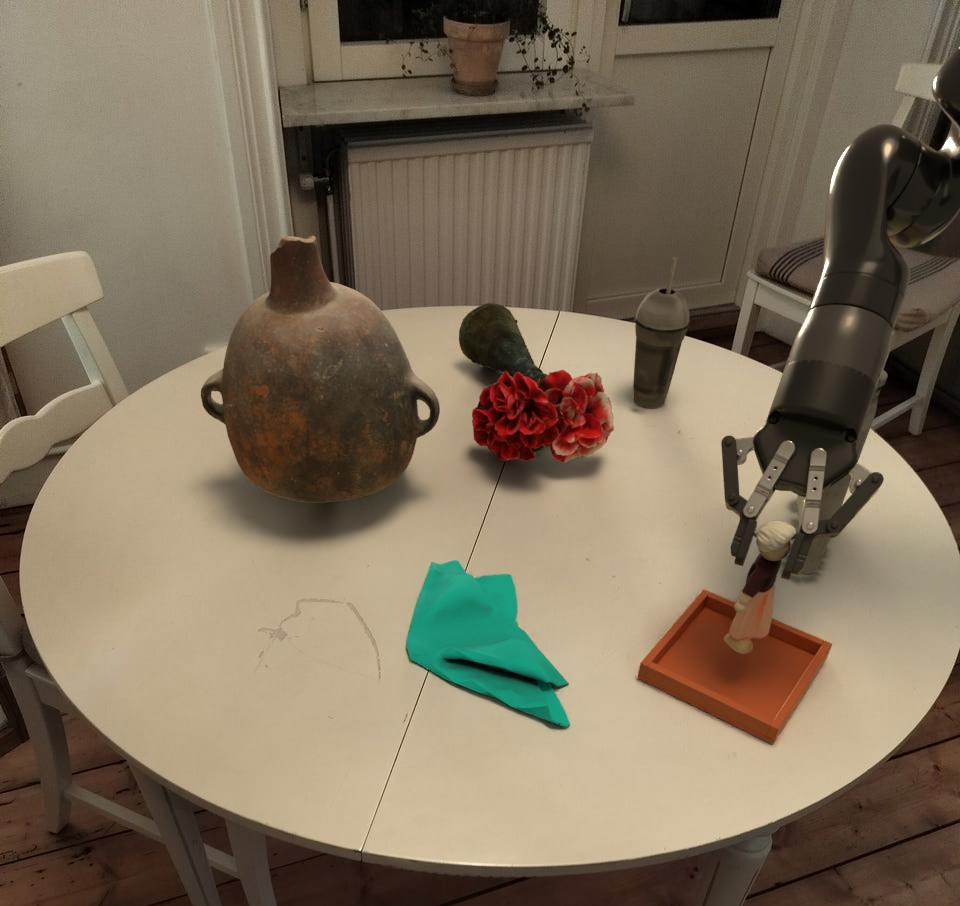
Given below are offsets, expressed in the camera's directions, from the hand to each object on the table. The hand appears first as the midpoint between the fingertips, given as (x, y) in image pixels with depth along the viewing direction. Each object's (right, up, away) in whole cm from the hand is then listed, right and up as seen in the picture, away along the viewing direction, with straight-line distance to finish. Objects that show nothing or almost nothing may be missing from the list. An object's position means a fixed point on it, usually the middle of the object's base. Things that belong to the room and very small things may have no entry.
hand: (762, 569), depth 72 cm
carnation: (-19, +24, +45) cm, 55 cm away
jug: (-42, +12, +32) cm, 54 cm away
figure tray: (+1, -9, +11) cm, 14 cm away
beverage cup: (0, +28, +50) cm, 57 cm away
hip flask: (+14, +6, +27) cm, 31 cm away
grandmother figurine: (+1, -6, +8) cm, 9 cm away
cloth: (-24, -6, +13) cm, 28 cm away
